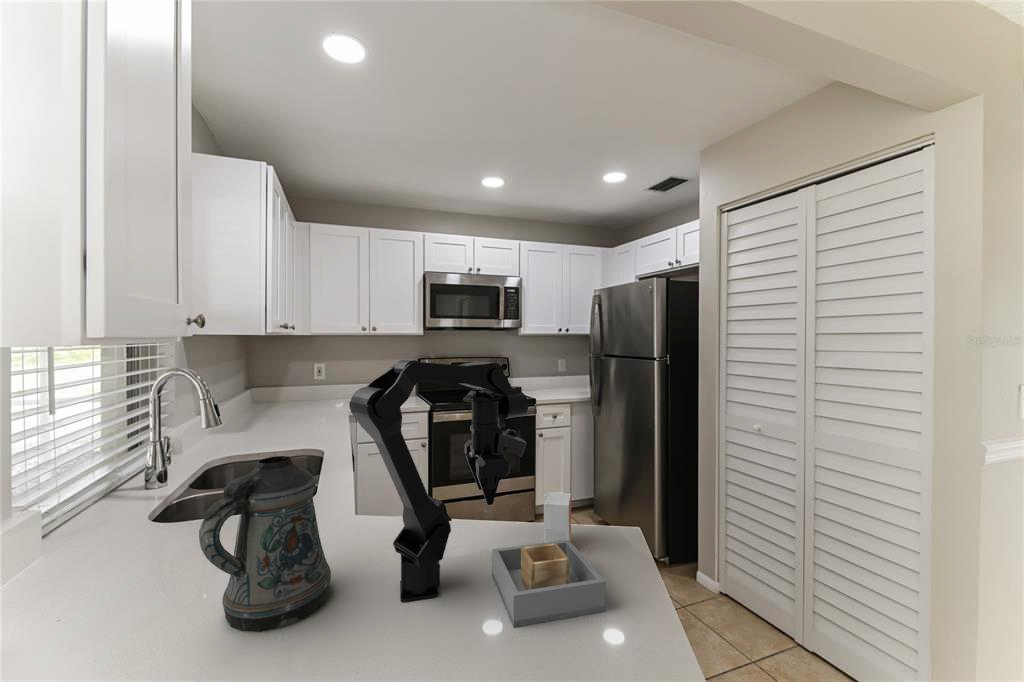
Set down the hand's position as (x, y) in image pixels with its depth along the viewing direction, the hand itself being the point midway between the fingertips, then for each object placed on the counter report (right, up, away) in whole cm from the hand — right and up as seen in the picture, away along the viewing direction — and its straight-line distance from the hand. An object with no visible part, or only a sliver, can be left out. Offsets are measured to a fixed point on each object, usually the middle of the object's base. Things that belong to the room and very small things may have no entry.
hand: (485, 496), depth 90 cm
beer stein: (-35, -13, -17) cm, 41 cm away
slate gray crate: (+11, -13, -12) cm, 21 cm away
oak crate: (+11, -12, -12) cm, 20 cm away
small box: (+16, -13, +6) cm, 22 cm away
